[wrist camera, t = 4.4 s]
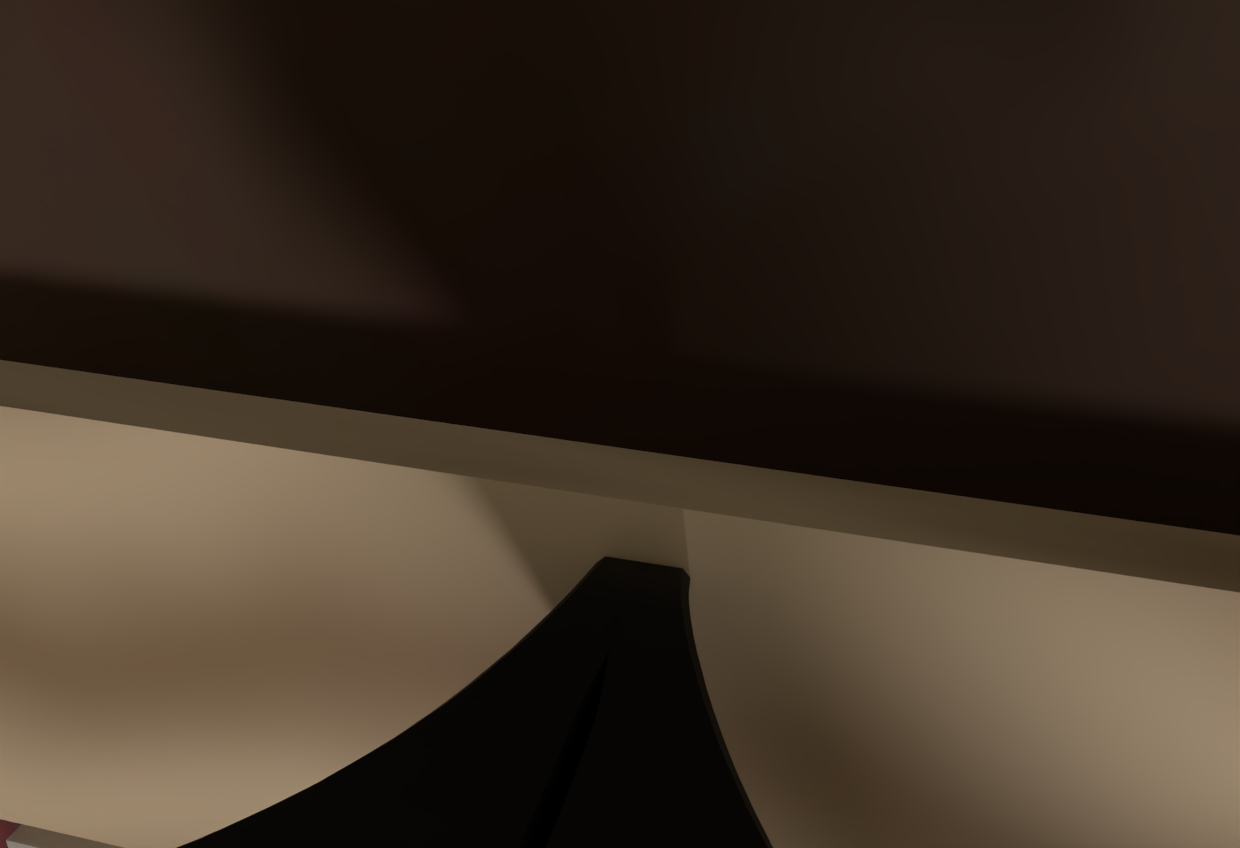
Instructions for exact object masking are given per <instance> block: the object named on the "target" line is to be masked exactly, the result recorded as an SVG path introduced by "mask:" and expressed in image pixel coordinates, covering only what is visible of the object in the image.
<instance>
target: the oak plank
mask: <svg viewBox="0 0 1240 848" xmlns="http://www.w3.org/2000/svg"><path fill="white" fill-rule="evenodd" d="M605 556H606V557H613V558H619V559H626V560H632V561H639V562H645V563H652V564H658V565H665V566H671V567H678V568H683V569H684V570H685V572H686V573H687V574H688V575H689V577H690V587H689V607H690V616H691V623H692V629H693V635H694V640H695V645H696V649H697V654H698V657H699V661H700V665H701V669H702V672H703V676H704V680H705V684H706V688H707V691H708V694H709V697H710V700H711V704H712V707H713V710H714V713H715V716H716V718H717V721H718V724H719V727H720V730H721V733H722V735H723V738H724V741H725V743H726V746H727V749H728V751H729V754H730V756H731V759H732V761H733V764H734V766H735V768H736V771H737V773H738V776H739V778H740V780H741V782H742V784H743V787H744V789H745V791H746V793H747V795H748V798H749V800H750V802H751V804H752V806H753V809H754V811H755V813H756V815H757V817H758V819H759V821H760V823H761V825H762V827H763V828H764V830H765V832H766V834H767V836H768V838H769V840H770V842H771V844H772V846H773V848H1240V536H1239V535H1232V534H1225V533H1218V532H1211V531H1204V530H1197V529H1190V528H1183V527H1175V526H1168V525H1161V524H1154V523H1147V522H1140V521H1133V520H1126V519H1119V518H1112V517H1105V516H1098V515H1091V514H1084V513H1077V512H1070V511H1063V510H1056V509H1049V508H1041V507H1034V506H1027V505H1020V504H1013V503H1006V502H999V501H992V500H985V499H978V498H971V497H964V496H957V495H950V494H943V493H936V492H929V491H922V490H915V489H907V488H900V487H893V486H886V485H879V484H872V483H865V482H858V481H851V480H844V479H837V478H830V477H823V476H816V475H809V474H802V473H795V472H788V471H781V470H773V469H766V468H759V467H752V466H745V465H738V464H731V463H724V462H717V461H710V460H703V459H696V458H689V457H682V456H675V455H668V454H661V453H654V452H646V451H639V450H632V449H625V448H618V447H611V446H604V445H597V444H590V443H583V442H576V441H569V440H562V439H555V438H548V437H541V436H534V435H527V434H520V433H512V432H505V431H498V430H491V429H484V428H477V427H470V426H463V425H456V424H449V423H442V422H435V421H428V420H421V419H414V418H407V417H400V416H393V415H386V414H378V413H371V412H364V411H357V410H350V409H343V408H336V407H329V406H322V405H315V404H308V403H301V402H294V401H287V400H280V399H273V398H266V397H259V396H252V395H244V394H237V393H230V392H223V391H216V390H209V389H202V388H195V387H188V386H181V385H174V384H167V383H160V382H153V381H146V380H139V379H132V378H125V377H118V376H110V375H103V374H96V373H89V372H82V371H75V370H68V369H61V368H54V367H47V366H40V365H33V364H26V363H19V362H12V361H5V360H0V819H2V820H7V821H11V822H15V823H20V824H24V825H28V826H33V827H37V828H41V829H46V830H50V831H54V832H59V833H63V834H67V835H72V836H76V837H80V838H85V839H89V840H94V841H98V842H102V843H107V844H111V845H115V846H120V847H124V848H177V847H179V846H182V845H184V844H187V843H190V842H192V841H195V840H197V839H199V838H202V837H204V836H206V835H208V834H211V833H213V832H215V831H218V830H220V829H222V828H225V827H227V826H229V825H231V824H233V823H235V822H238V821H240V820H242V819H244V818H246V817H248V816H251V815H253V814H255V813H257V812H259V811H261V810H264V809H266V808H268V807H270V806H272V805H274V804H276V803H278V802H280V801H282V800H284V799H286V798H288V797H290V796H292V795H294V794H296V793H298V792H300V791H302V790H304V789H306V788H308V787H310V786H312V785H314V784H316V783H318V782H319V781H321V780H323V779H325V778H327V777H328V776H330V775H332V774H333V773H335V772H337V771H339V770H340V769H342V768H344V767H346V766H347V765H349V764H351V763H353V762H354V761H356V760H358V759H360V758H361V757H363V756H365V755H366V754H368V753H370V752H371V751H373V750H375V749H376V748H378V747H380V746H381V745H383V744H384V743H386V742H388V741H389V740H391V739H393V738H394V737H396V736H397V735H399V734H400V733H402V732H403V731H405V730H406V729H408V728H409V727H411V726H412V725H414V724H415V723H416V722H418V721H419V720H421V719H422V718H424V717H425V716H427V715H428V714H430V713H431V712H432V711H434V710H435V709H437V708H438V707H439V706H441V705H442V704H443V703H445V702H446V701H447V700H449V699H450V698H451V697H453V696H454V695H455V694H457V693H458V692H459V691H461V690H462V689H463V688H465V687H466V686H467V685H468V684H469V683H471V682H472V681H473V680H474V679H475V678H477V677H478V676H479V675H480V674H481V673H483V672H484V671H485V670H486V669H488V668H489V667H490V666H491V665H492V664H494V663H495V662H496V661H497V660H498V659H500V658H501V657H502V656H503V655H504V654H506V653H507V652H508V651H509V650H510V649H511V648H512V647H514V646H515V645H516V644H517V643H518V642H519V641H520V640H521V639H522V638H523V637H524V636H525V635H526V634H528V633H529V632H530V631H531V630H532V629H533V628H534V627H535V626H536V625H537V624H538V623H539V622H540V621H541V620H542V619H543V618H544V617H546V616H547V615H548V614H549V613H550V612H551V611H552V610H553V609H554V608H555V607H556V606H557V605H558V604H559V603H560V602H561V601H562V600H563V599H564V597H565V596H566V595H567V594H568V593H569V592H570V591H571V590H572V589H573V588H574V587H575V586H576V585H577V584H578V583H579V582H580V580H581V579H582V578H583V577H584V576H585V575H586V574H587V573H588V572H589V570H590V569H591V568H592V567H593V566H594V565H595V563H597V562H598V561H599V560H601V559H602V558H604V557H605Z"/></svg>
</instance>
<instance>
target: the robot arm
mask: <svg viewBox="0 0 1240 848" xmlns="http://www.w3.org/2000/svg"><path fill="white" fill-rule="evenodd" d="M689 587H690V577H689V575H688V574H687V573H686V572H685V570H684V569H683V568H678V567H671V566H665V565H658V564H652V563H645V562H639V561H632V560H626V559H619V558H613V557H606V556H605V557H604V558H602V559H601V560H599V561H598V562H597V563H595V565H594V566H593V567H592V568H591V569H590V570H589V572H588V573H587V574H586V575H585V576H584V577H583V578H582V579H581V580H580V582H579V583H578V584H577V585H576V586H575V587H574V588H573V589H572V590H571V591H570V592H569V593H568V594H567V595H566V596H565V597H564V599H563V600H562V601H561V602H560V603H559V604H558V605H557V606H556V607H555V608H554V609H553V610H552V611H551V612H550V613H549V614H548V615H547V616H546V617H544V618H543V619H542V620H541V621H540V622H539V623H538V624H537V625H536V626H535V627H534V628H533V629H532V630H531V631H530V632H529V633H528V634H526V635H525V636H524V637H523V638H522V639H521V640H520V641H519V642H518V643H517V644H516V645H515V646H514V647H512V648H511V649H510V650H509V651H508V652H507V653H506V654H504V655H503V656H502V657H501V658H500V659H498V660H497V661H496V662H495V663H494V664H492V665H491V666H490V667H489V668H488V669H486V670H485V671H484V672H483V673H481V674H480V675H479V676H478V677H477V678H475V679H474V680H473V681H472V682H471V683H469V684H468V685H467V686H466V687H465V688H463V689H462V690H461V691H459V692H458V693H457V694H455V695H454V696H453V697H451V698H450V699H449V700H447V701H446V702H445V703H443V704H442V705H441V706H439V707H438V708H437V709H435V710H434V711H432V712H431V713H430V714H428V715H427V716H425V717H424V718H422V719H421V720H419V721H418V722H416V723H415V724H414V725H412V726H411V727H409V728H408V729H406V730H405V731H403V732H402V733H400V734H399V735H397V736H396V737H394V738H393V739H391V740H389V741H388V742H386V743H384V744H383V745H381V746H380V747H378V748H376V749H375V750H373V751H371V752H370V753H368V754H366V755H365V756H363V757H361V758H360V759H358V760H356V761H354V762H353V763H351V764H349V765H347V766H346V767H344V768H342V769H340V770H339V771H337V772H335V773H333V774H332V775H330V776H328V777H327V778H325V779H323V780H321V781H319V782H318V783H316V784H314V785H312V786H310V787H308V788H306V789H304V790H302V791H300V792H298V793H296V794H294V795H292V796H290V797H288V798H286V799H284V800H282V801H280V802H278V803H276V804H274V805H272V806H270V807H268V808H266V809H264V810H261V811H259V812H257V813H255V814H253V815H251V816H248V817H246V818H244V819H242V820H240V821H238V822H235V823H233V824H231V825H229V826H227V827H225V828H222V829H220V830H218V831H215V832H213V833H211V834H208V835H206V836H204V837H202V838H199V839H197V840H195V841H192V842H190V843H187V844H184V845H182V846H179V847H177V848H773V846H772V844H771V842H770V840H769V838H768V836H767V834H766V832H765V830H764V828H763V827H762V825H761V823H760V821H759V819H758V817H757V815H756V813H755V811H754V809H753V806H752V804H751V802H750V800H749V798H748V795H747V793H746V791H745V789H744V787H743V784H742V782H741V780H740V778H739V776H738V773H737V771H736V768H735V766H734V764H733V761H732V759H731V756H730V754H729V751H728V749H727V746H726V743H725V741H724V738H723V735H722V733H721V730H720V727H719V724H718V721H717V718H716V716H715V713H714V710H713V707H712V704H711V700H710V697H709V694H708V691H707V688H706V684H705V680H704V676H703V672H702V669H701V665H700V661H699V657H698V654H697V649H696V645H695V640H694V635H693V629H692V623H691V616H690V607H689Z"/></svg>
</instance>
